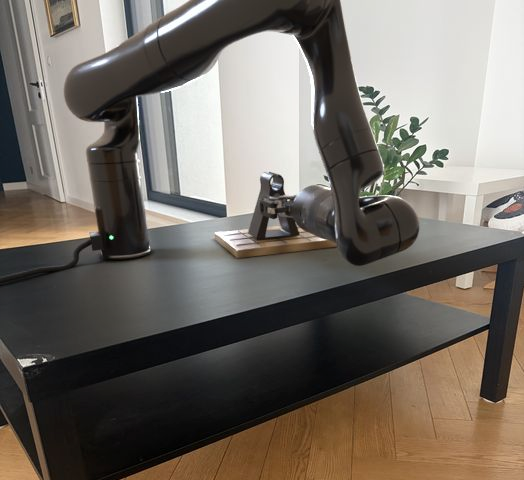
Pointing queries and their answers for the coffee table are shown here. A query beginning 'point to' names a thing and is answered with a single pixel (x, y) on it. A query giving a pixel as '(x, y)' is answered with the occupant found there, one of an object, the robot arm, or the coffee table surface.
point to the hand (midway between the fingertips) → (288, 199)
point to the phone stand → (286, 223)
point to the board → (269, 243)
